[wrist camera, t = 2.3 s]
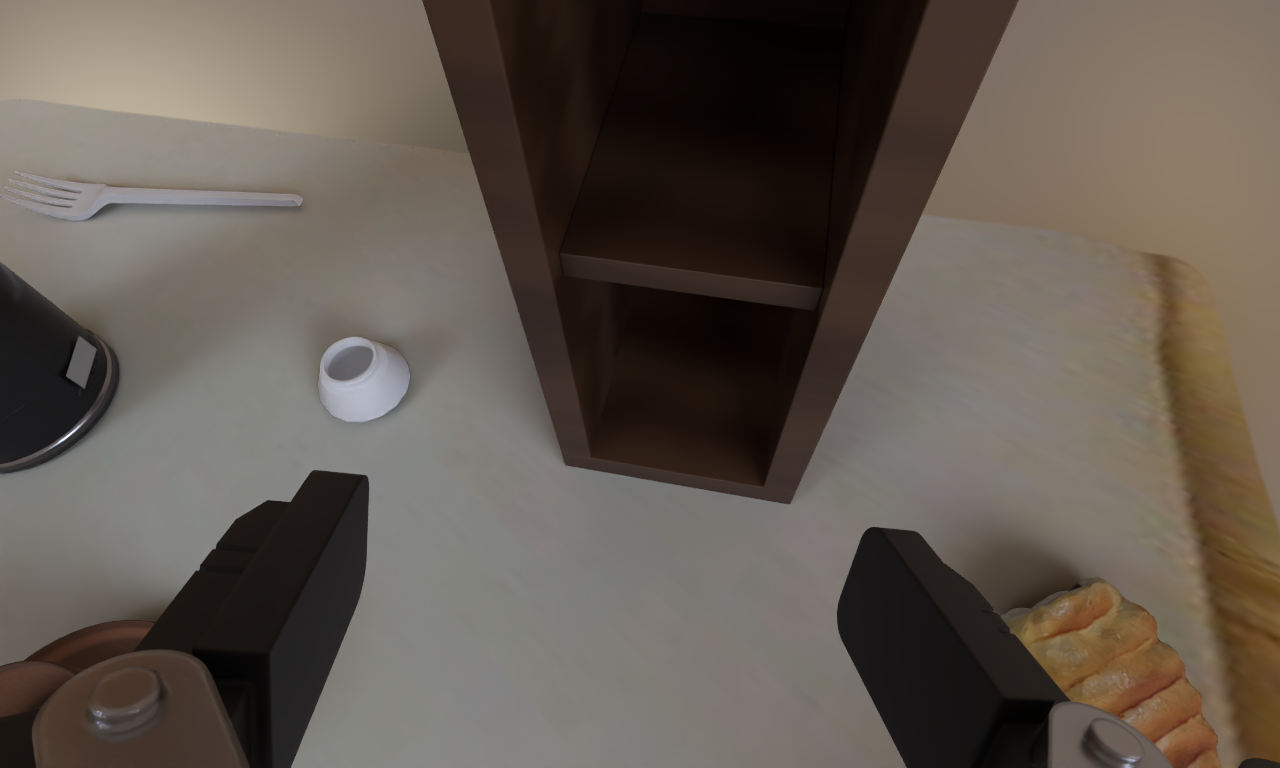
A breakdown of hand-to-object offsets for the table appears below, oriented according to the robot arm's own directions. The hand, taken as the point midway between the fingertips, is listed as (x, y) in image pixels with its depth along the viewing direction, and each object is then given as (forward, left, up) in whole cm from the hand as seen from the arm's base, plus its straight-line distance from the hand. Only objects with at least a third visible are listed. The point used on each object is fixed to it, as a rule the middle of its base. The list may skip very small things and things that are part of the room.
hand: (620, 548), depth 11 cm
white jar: (-12, +20, -23) cm, 33 cm away
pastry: (+19, -4, -23) cm, 30 cm away
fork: (-25, +39, -23) cm, 52 cm away
